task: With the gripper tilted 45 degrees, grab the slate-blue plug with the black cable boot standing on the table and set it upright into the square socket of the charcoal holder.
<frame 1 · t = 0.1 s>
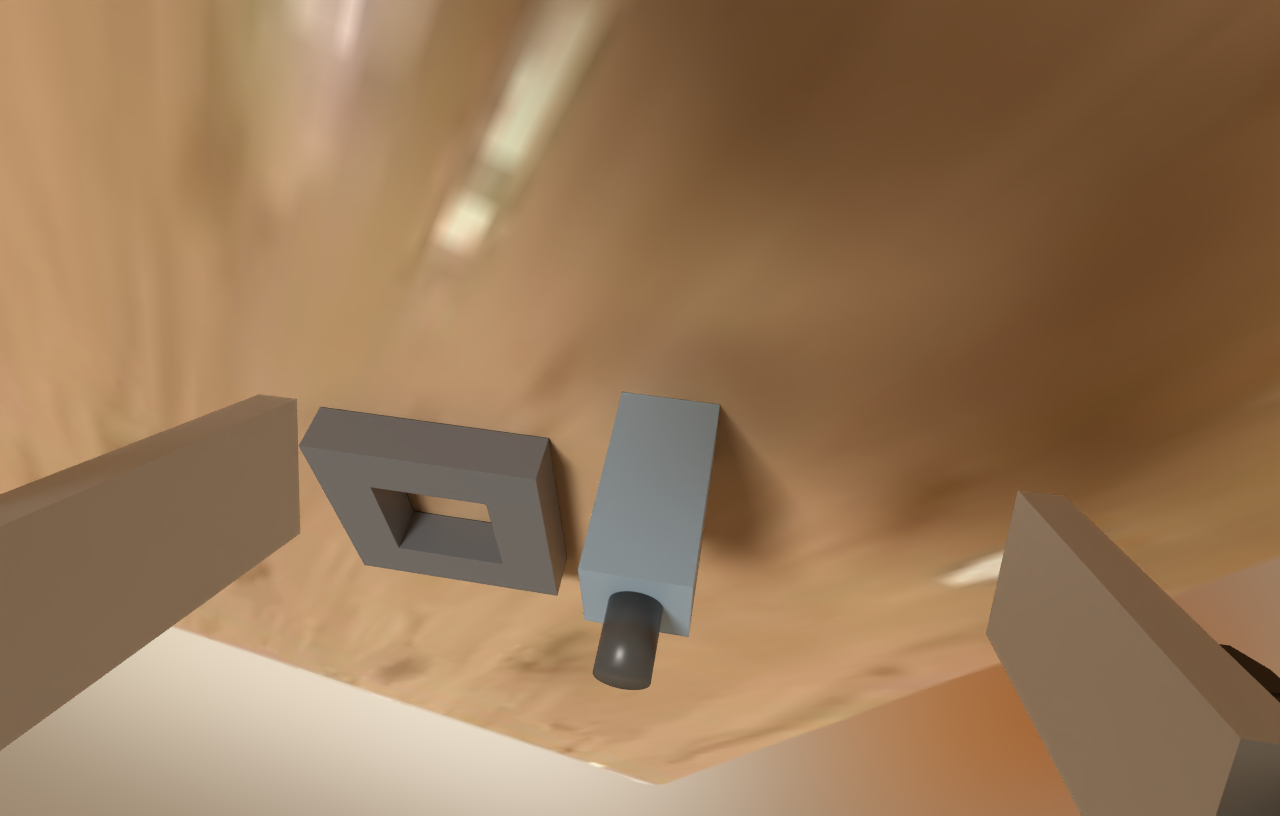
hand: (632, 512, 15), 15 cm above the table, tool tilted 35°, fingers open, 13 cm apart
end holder: (454, 489, 45), on the table
connector plug: (669, 428, 38), on the table
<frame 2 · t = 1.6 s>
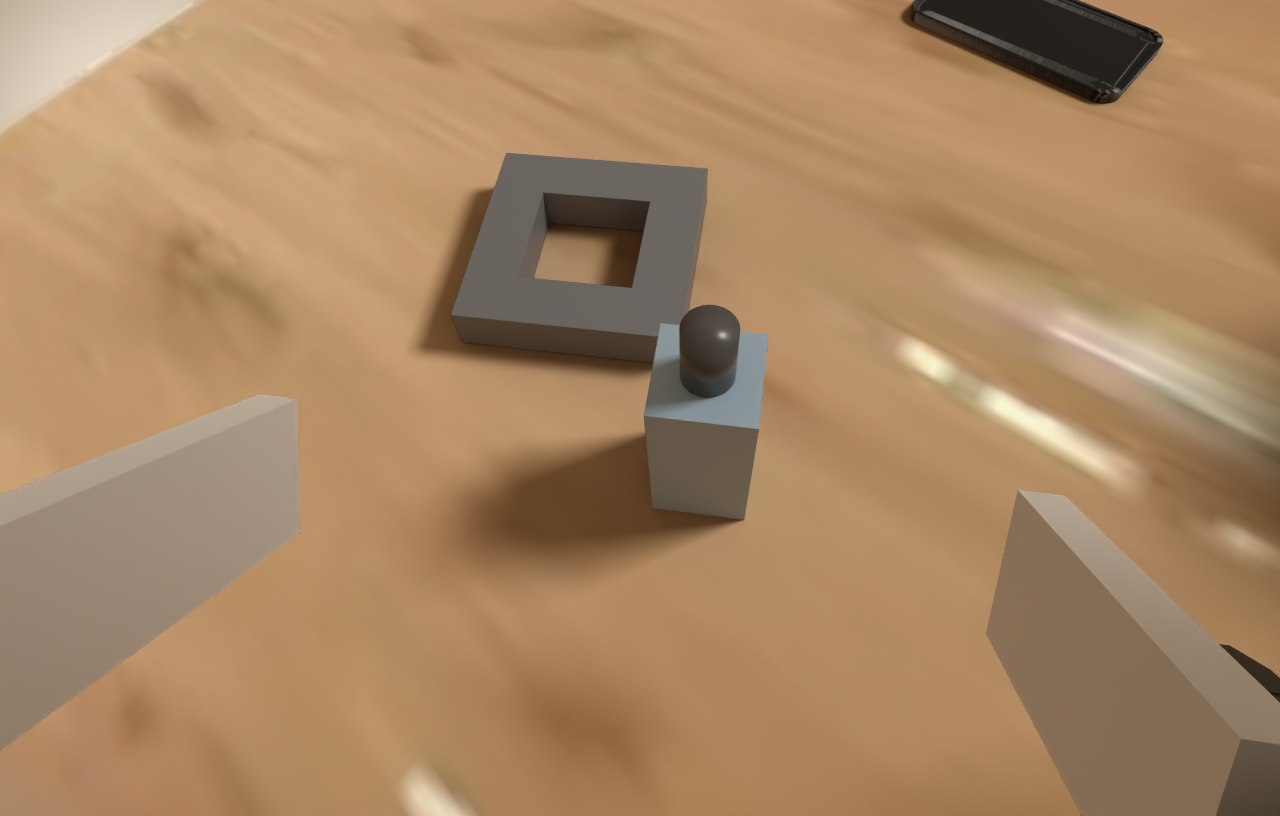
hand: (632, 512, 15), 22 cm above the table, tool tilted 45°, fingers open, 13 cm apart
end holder: (590, 267, 46), on the table
connector plug: (703, 472, 40), on the table
phone: (1027, 38, 55), on the table
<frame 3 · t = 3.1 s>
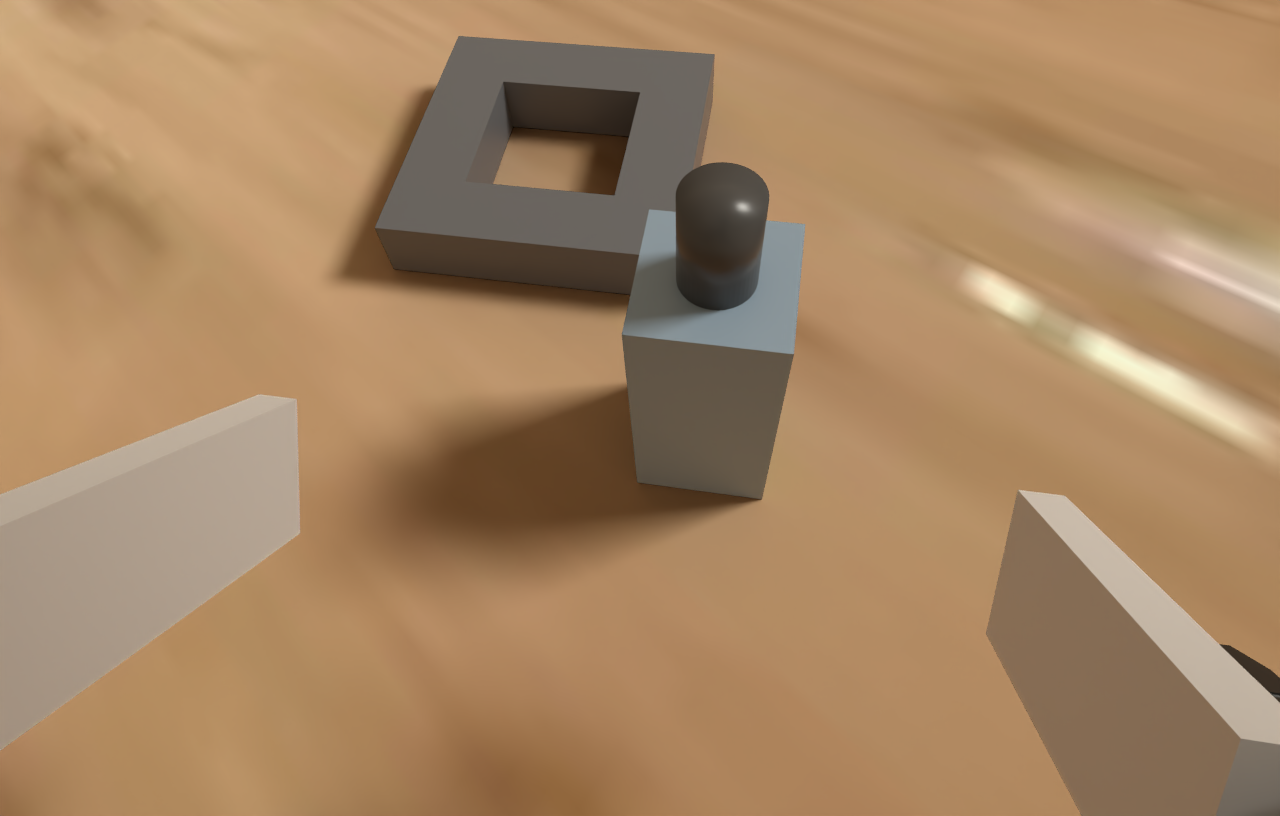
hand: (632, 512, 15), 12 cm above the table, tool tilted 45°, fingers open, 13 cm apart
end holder: (563, 179, 36), on the table
connector plug: (706, 436, 29), on the table
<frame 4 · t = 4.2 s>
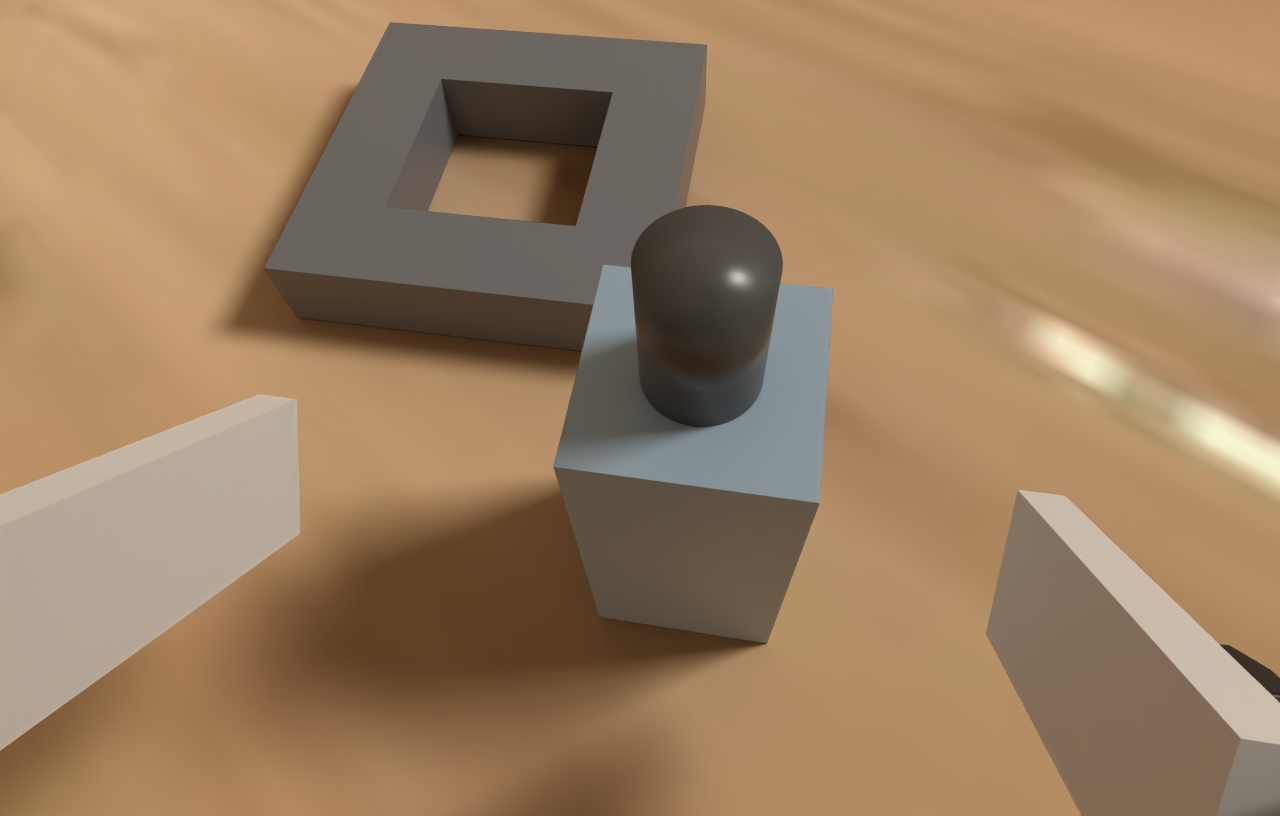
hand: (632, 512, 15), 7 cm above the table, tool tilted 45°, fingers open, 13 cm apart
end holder: (516, 201, 29), on the table
connector plug: (693, 550, 22), on the table
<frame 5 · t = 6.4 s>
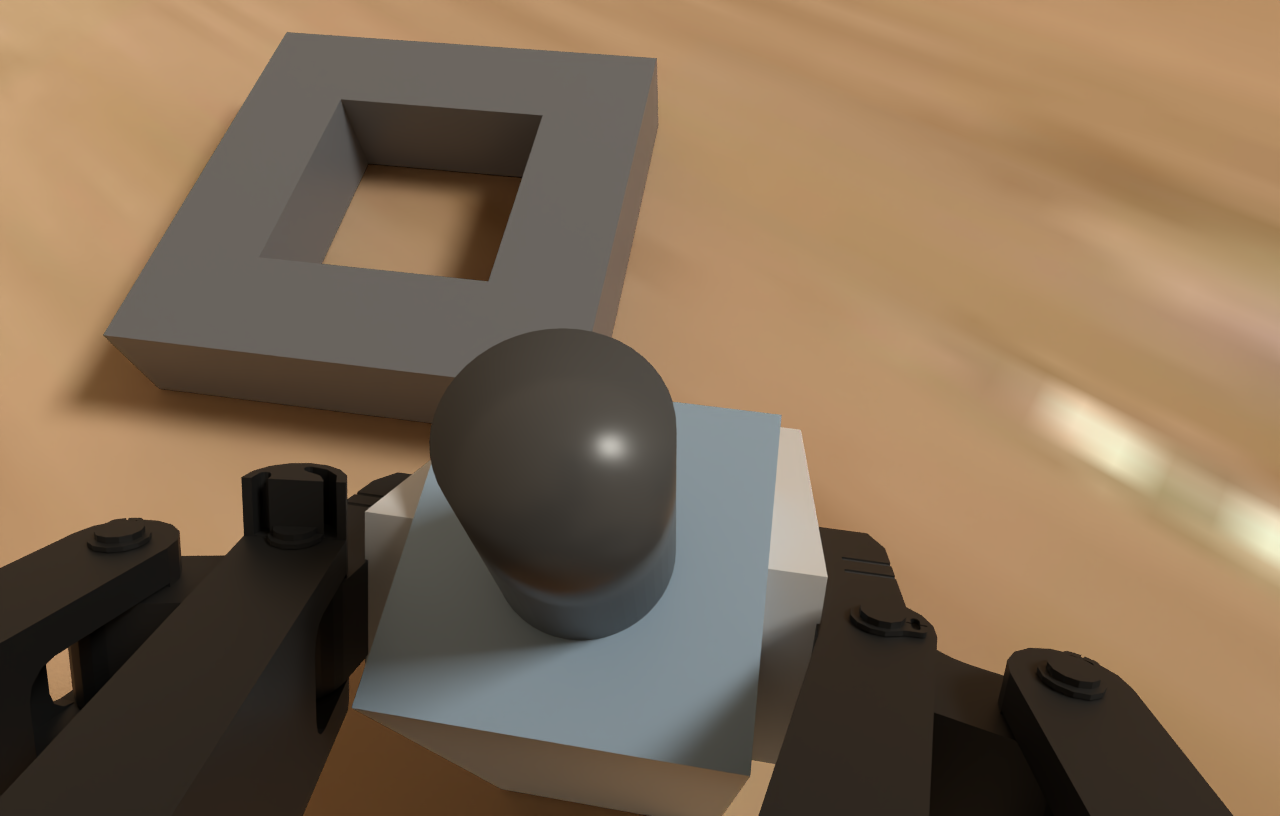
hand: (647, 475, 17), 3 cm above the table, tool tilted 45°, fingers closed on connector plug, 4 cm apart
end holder: (432, 244, 24), on the table
connector plug: (624, 696, 18), on the table, touching gripper
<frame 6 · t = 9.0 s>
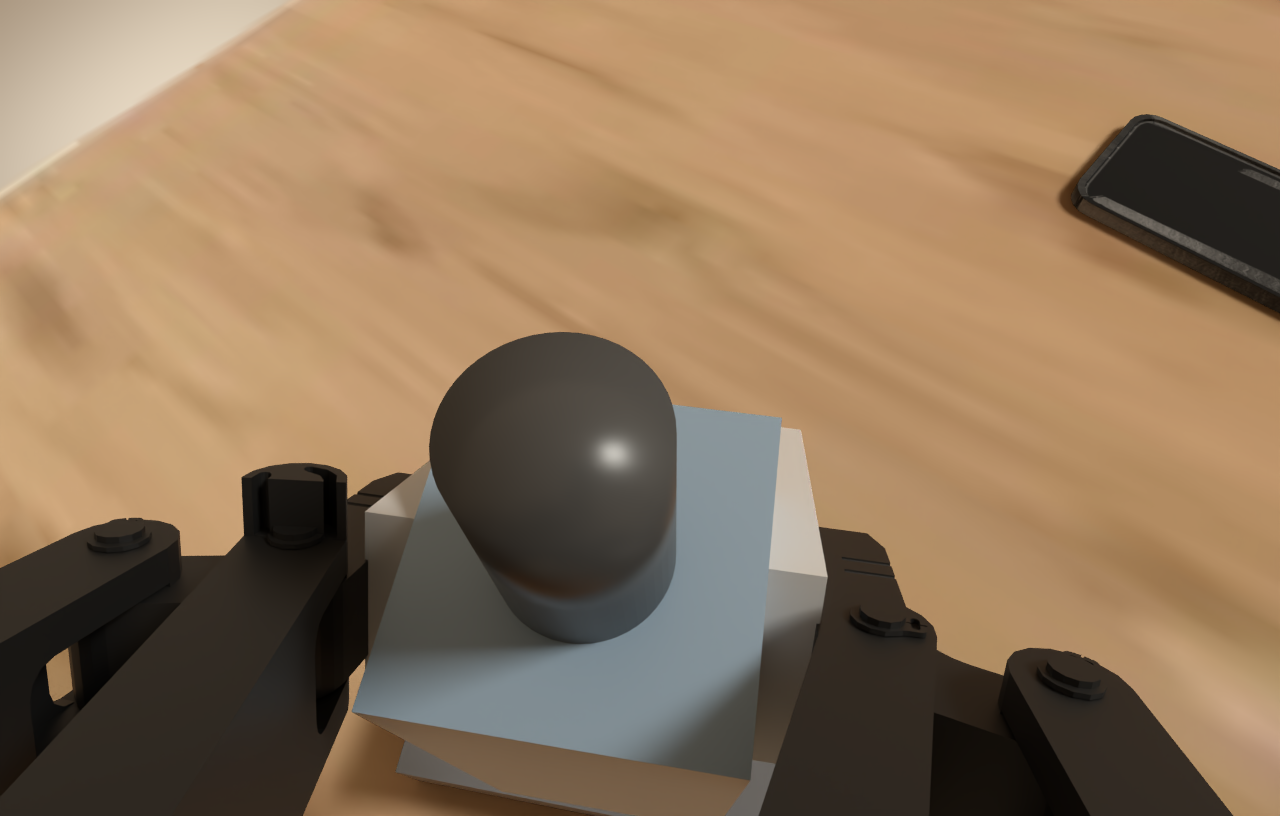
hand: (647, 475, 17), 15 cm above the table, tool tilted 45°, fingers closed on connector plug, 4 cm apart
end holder: (620, 637, 30), on the table
connector plug: (624, 698, 17), point 12 cm above the table, touching gripper
phone: (1241, 238, 39), on the table
when the fingers open (5 cm above the table, at t = 12.6 s): connector plug drops 1 cm, resting in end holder.
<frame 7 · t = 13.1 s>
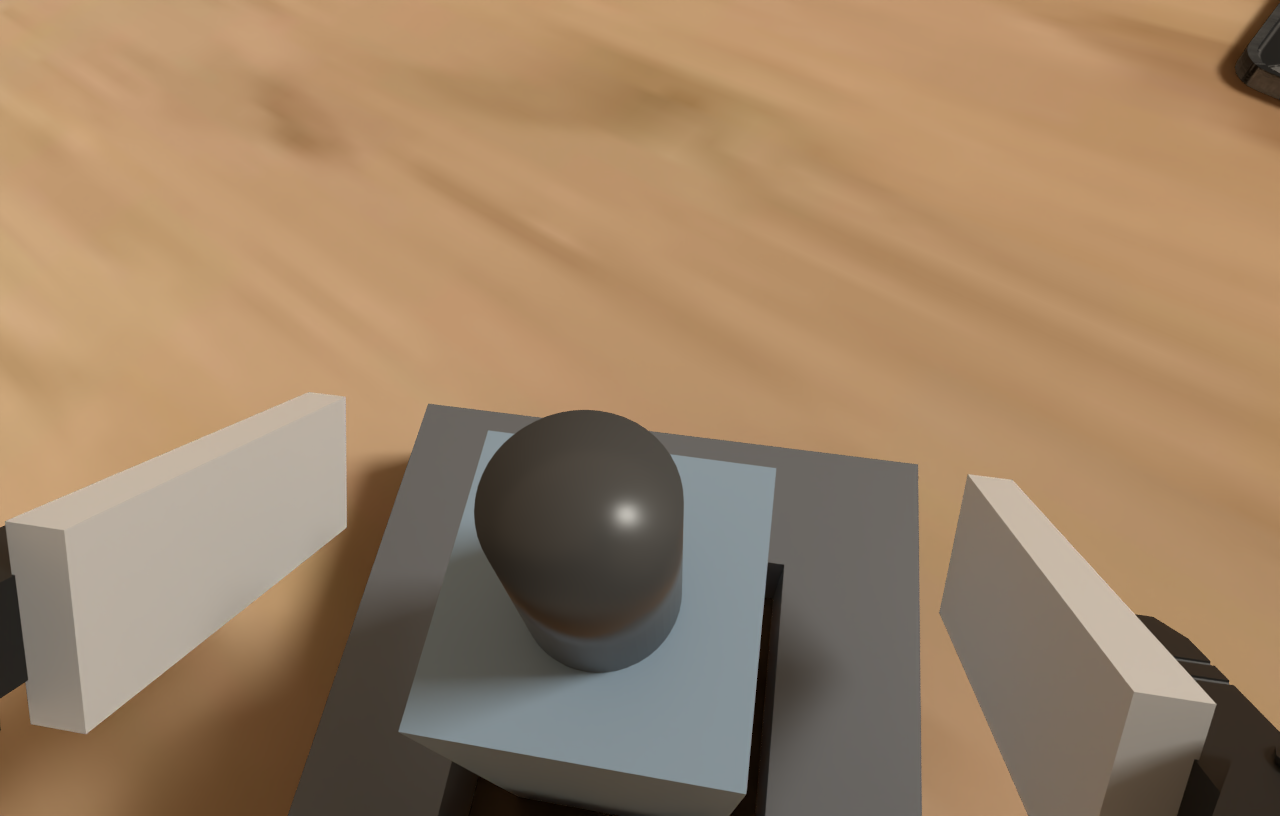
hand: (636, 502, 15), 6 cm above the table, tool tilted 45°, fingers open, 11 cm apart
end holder: (628, 708, 19), on the table
connector plug: (632, 710, 19), resting in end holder
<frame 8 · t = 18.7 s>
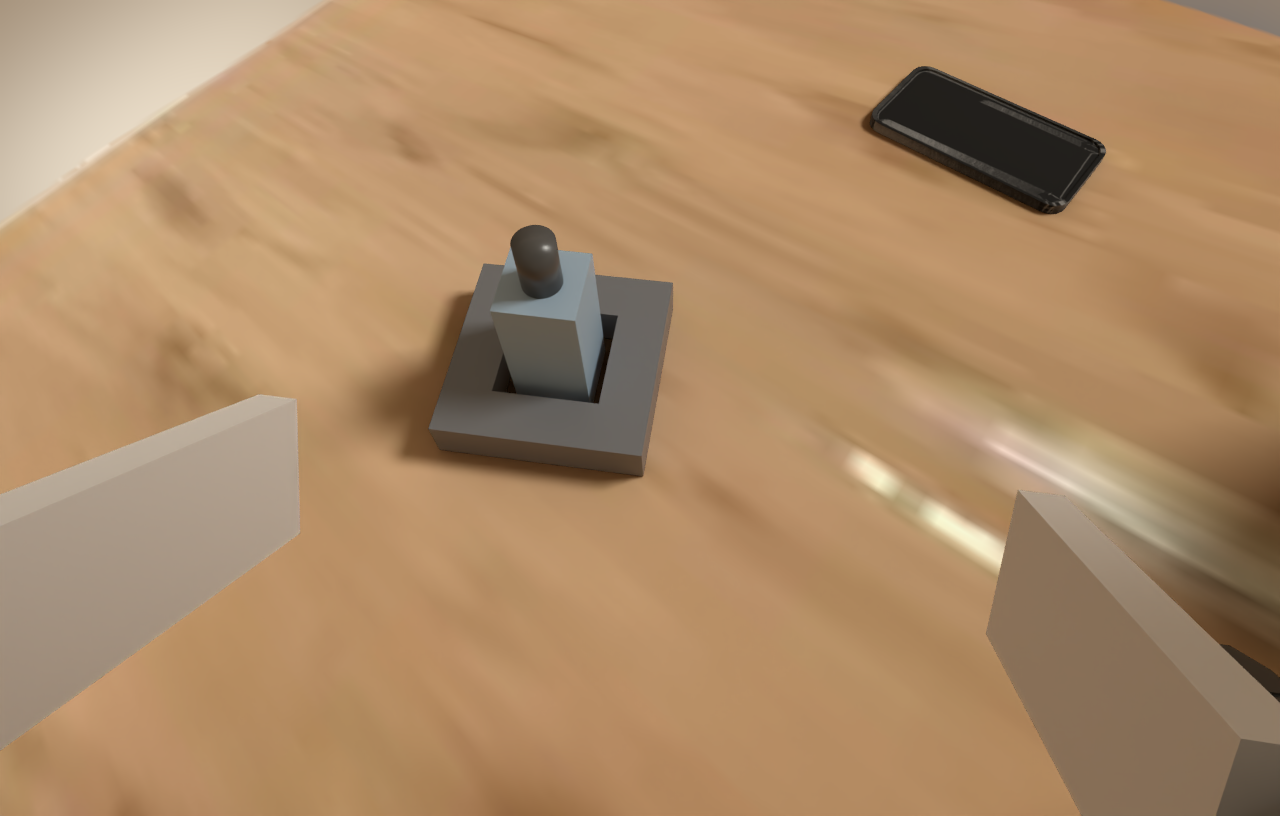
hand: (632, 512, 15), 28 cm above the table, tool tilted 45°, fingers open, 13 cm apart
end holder: (561, 375, 49), on the table
connector plug: (563, 376, 49), resting in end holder
phone: (980, 145, 59), on the table
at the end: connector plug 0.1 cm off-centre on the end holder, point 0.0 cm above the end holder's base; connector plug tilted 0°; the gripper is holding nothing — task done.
